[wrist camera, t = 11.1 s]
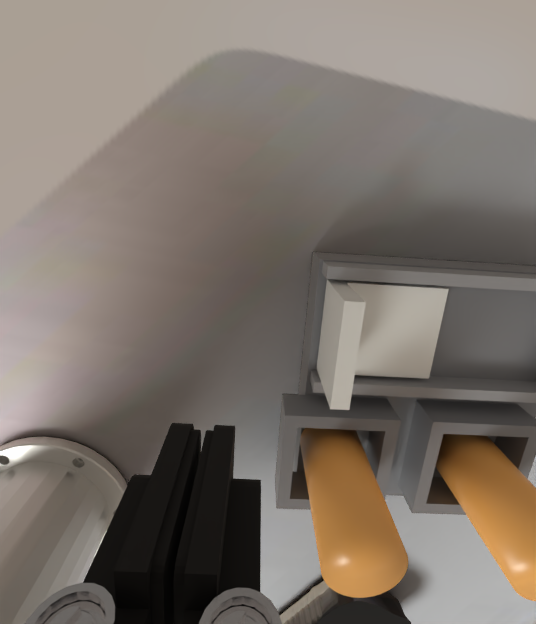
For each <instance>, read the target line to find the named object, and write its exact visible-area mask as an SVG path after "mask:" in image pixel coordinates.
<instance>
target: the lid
mask: <svg viewBox="0 0 536 624" xmlns="http://www.w3.org/2000/svg"><path fill="white" fill-rule="evenodd" d="M448 290H449V289H448V288H446V287H444V286H433V285H416V284H400V283H383V282H366V281H350V280H333V279H327V283H326V291H325V300H324V309H323V317H322V326H321V334H320V343H319V351H318V360H317V371H318V374H319V377H320V380H321V383H322V386H323V389H324V392H325V395H326V398H327V401H328V404H329V407H330V409H337V410H349V409H350V402H351V396H352V389H353V383H354V376H355V375H366V376H386V377H406V378H427V379H429V376H430V371H431V367H432V362H433V358H434V353H435V349H436V344H437V340H438V335H439V331H440V326H441V322H442V317H443V313H444V308H445V304H446V299H447V295H448Z"/></svg>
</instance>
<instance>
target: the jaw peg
mask: <svg viewBox="0 0 536 624" xmlns="http://www.w3.org/2000/svg"><path fill="white" fill-rule="evenodd" d="M435 467H436V468H437V470H438V471H439V473H440V474H441V476H442V478H443V479H444V481H445V482H446V484H447V485H448V487H449V488H450V490H451V492H452V493H453V495H454V496H455V498H456V499H457V501H458V502H459V504H460V506H461V507H462V509H463V510H464V512H465V513H466V515H467V517H468V518H469V520H470V521H471V523H472V524H473V526H474V527H475V529H476V531H477V532H478V534H479V535H480V537H481V538H482V540H483V541H484V543H485V545H486V546H487V548H488V549H489V551H490V552H491V554H492V555H493V557H494V559H495V560H496V562H497V563H498V565H499V566H500V568H501V570H502V571H503V573H504V574H505V576H506V577H507V579H508V580H509V582H510V584H511V585H512V587H513V588H514V590H515V591H516V592H517V593H518V594H519V595H520V596H522V597H524V598H526V599H529V600H532V601H536V488H535V487H534V485H533V484H532V483H531V482H530V481H529V480H528V479H527V478H526V477H525V476H524V475H523V474H522V473H521V472H520V471H519V469H518V468H517V467H516V466H515V465H514V464H513V463H512V462H511V461H510V460H509V459H508V458H507V457H506V456H505V455H504V453H503V452H502V451H501V450H500V449H499V448H498V447H497V446H496V445H495V444H494V443H493V442H492V441H491V440H490V438H489V437H488V436H483V435H460V434H443V438H442V442H441V446H440V450H439V454H438V458H437V462H436V466H435Z"/></svg>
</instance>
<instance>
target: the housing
mask: <svg viewBox="0 0 536 624" xmlns="http://www.w3.org/2000/svg"><path fill="white" fill-rule="evenodd" d="M327 279H333V280H350V281H366V282H383V283H400V284H416V285H433V286H444V287H446V288H448V289H449V290H448V295H447V299H446V304H445V308H444V313H443V317H442V322H441V326H440V331H439V335H438V340H437V344H436V349H435V353H434V358H433V362H432V367H431V371H430V376H429V379H427V378H406V377H386V376H366V375H355V376H354V383H353V389H352V396H351V402H350V409H349V410H337V409H330V407H329V404H328V401H327V398H326V395H325V392H324V389H323V386H322V383H321V380H320V377H319V374H318V371H317V360H318V351H319V343H320V334H321V326H322V317H323V309H324V300H325V291H326V283H327ZM535 416H536V266H530V265H514V264H498V263H482V262H466V261H451V260H435V259H419V258H403V257H387V256H371V255H355V254H339V253H323V252H313V254H312V264H311V274H310V284H309V293H308V303H307V313H306V323H305V333H304V342H303V352H302V362H301V372H300V381H299V391H298V394H282V405H281V417H280V428H279V440H278V451H277V462H276V474H275V490H276V508H283V509H311V513H312V519H313V525H314V531H315V537H316V543H317V549H318V555H319V561H320V568H321V574H322V577H323V579H324V581H325V583H326V584H327V585H328V586H329V587H330V588H331V589H332V590H334V591H335V592H337V593H339V594H342V595H344V596H348V597H355V598H365V597H372V596H376V595H379V594H382V593H384V592H386V591H388V590H390V589H391V588H393V587H394V586H396V585H397V584H398V583H399V582H400V581H401V580H402V578H403V577H404V575H405V573H406V571H407V568H408V556H407V553H406V551H405V548H404V546H403V543H402V541H401V539H400V536H399V534H398V531H397V529H396V526H395V524H394V521H393V519H392V517H391V514H390V512H389V509H388V507H387V504H386V502H385V496H386V495H400V496H404V497H405V499H406V502H407V504H408V506H409V508H410V510H411V512H412V513H431V514H461V515H466V513H465V512H464V510H463V509H462V507H461V506H460V504H459V502H458V501H457V499H456V498H455V496H454V495H453V493H452V492H451V490H450V488H449V487H448V485H447V484H446V482H445V481H444V479H443V478H442V476H441V474H440V473H439V471H438V470H437V468H436V467H435V466H436V462H437V458H438V454H439V450H440V446H441V442H442V438H443V434H460V435H483V436H488V437H489V438H490V440H491V441H492V442H493V443H494V444H495V445H496V446H497V447H498V448H499V449H500V450H501V451H502V452H503V453H504V455H505V456H506V457H507V458H508V459H509V460H510V461H511V462H512V463H513V464H514V465H515V466H516V467H517V468H518V469H519V471H520V472H521V473H522V474H523V475H524V476H525V477H526V478H528V475H529V472H530V470H531V467H532V464H533V461H534V458H535V455H536V419H535Z"/></svg>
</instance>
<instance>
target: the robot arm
mask: <svg viewBox="0 0 536 624" xmlns="http://www.w3.org/2000/svg"><path fill="white" fill-rule="evenodd" d="M234 443H235V426H225V425H215V426H214V431H211V430H207V431H206V434H205V438H204V442H203V446H202V451H201V431H200V430H194V426H193V424H182V423H172V424H171V426H170V429H169V431H168V434H167V436H166V439H165V441H164V444H163V446H162V449H161V452H160V454H159V457H158V459H157V462H156V464H155V467H154V469H153V472H152V474H151V475H134V476H133V477H132V478H131V480H130V481H129V483H128V486H127V484H126V481H125V479H124V478H123V477H122V475H121V474H120V473H119V471H118V470H117V469H116V467H114V466H113V465H112V464H111V463H110V462H109V461H108V460H107V459H106V458H104V457H103V456H101V455H100V454H98V453H97V452H95V451H94V450H92V449H90V448H88V447H85V446H83V445H81V444H79V443H76V442H72V441H69V440H65V439H61V438H53V437H28V438H23V439H18V440H14V441H12V442H9V443H7V444H4V445H2V446H0V624H282V622H281V619H280V616H279V613H278V611H277V609H276V608H275V606H274V605H273V603H272V602H271V600H269V599H268V598H267V597H266V596H264V595H263V594H262V593H261V592H260V524H261V480H250V479H233V466H234ZM90 565H91V566H90ZM89 567H90V568H89ZM87 572H88V573H87ZM86 574H87V575H86ZM85 576H86V577H85ZM84 578H85V579H84ZM83 580H84V581H83Z"/></svg>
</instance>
